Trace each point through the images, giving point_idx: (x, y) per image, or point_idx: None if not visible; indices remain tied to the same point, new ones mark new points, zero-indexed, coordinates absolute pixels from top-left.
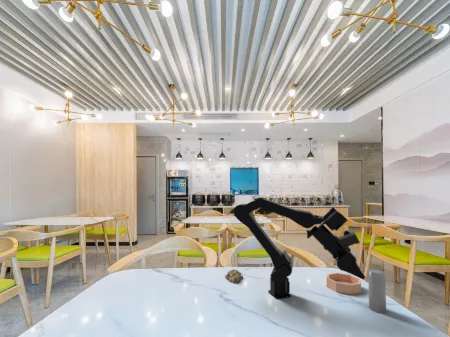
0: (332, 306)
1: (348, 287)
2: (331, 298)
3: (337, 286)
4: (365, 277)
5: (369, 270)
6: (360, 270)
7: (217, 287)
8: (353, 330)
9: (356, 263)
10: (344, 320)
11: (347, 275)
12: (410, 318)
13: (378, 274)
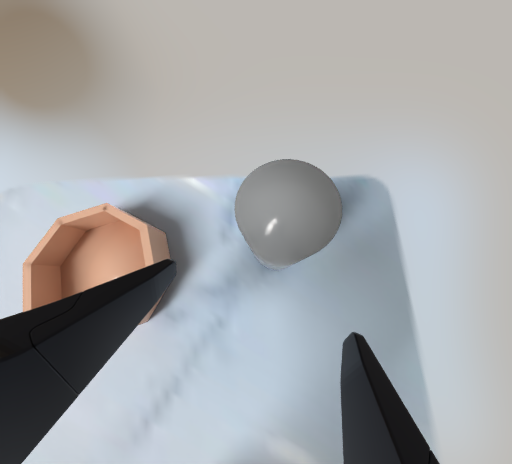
0: (259, 402)
1: None
2: (197, 371)
3: None
4: (361, 335)
5: (259, 241)
6: (416, 426)
7: None
8: (419, 414)
9: (140, 286)
10: None
11: (59, 231)
12: None
13: (339, 222)
